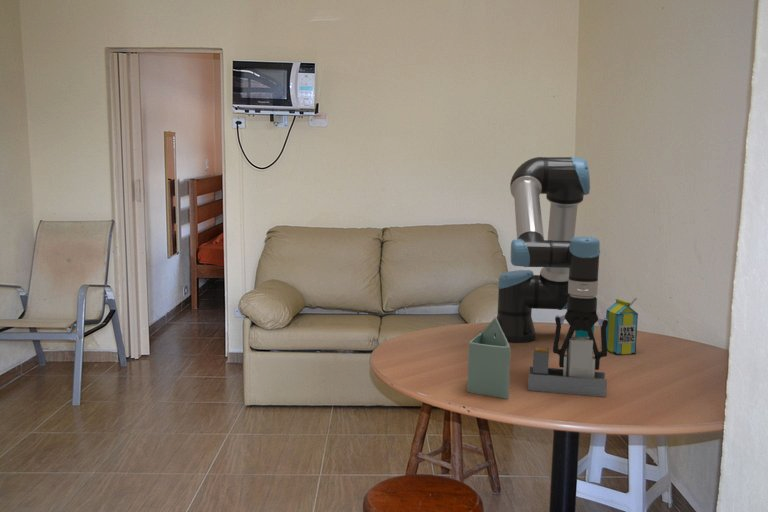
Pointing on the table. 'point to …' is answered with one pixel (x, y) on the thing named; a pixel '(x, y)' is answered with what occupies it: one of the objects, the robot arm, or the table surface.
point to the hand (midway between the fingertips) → (578, 379)
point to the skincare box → (579, 357)
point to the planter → (489, 362)
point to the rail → (562, 378)
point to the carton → (621, 328)
